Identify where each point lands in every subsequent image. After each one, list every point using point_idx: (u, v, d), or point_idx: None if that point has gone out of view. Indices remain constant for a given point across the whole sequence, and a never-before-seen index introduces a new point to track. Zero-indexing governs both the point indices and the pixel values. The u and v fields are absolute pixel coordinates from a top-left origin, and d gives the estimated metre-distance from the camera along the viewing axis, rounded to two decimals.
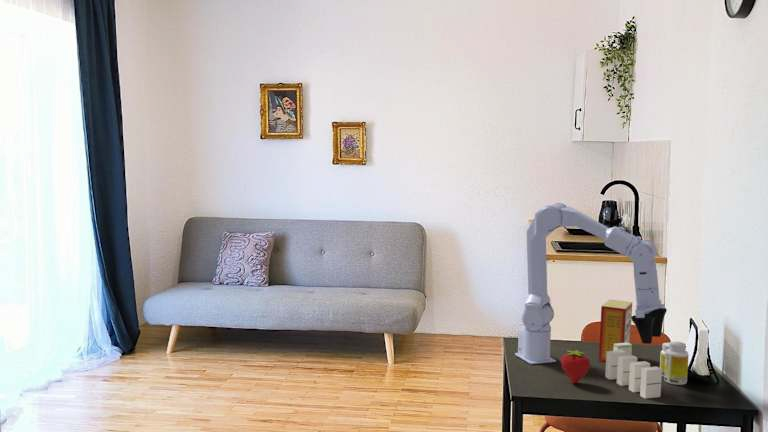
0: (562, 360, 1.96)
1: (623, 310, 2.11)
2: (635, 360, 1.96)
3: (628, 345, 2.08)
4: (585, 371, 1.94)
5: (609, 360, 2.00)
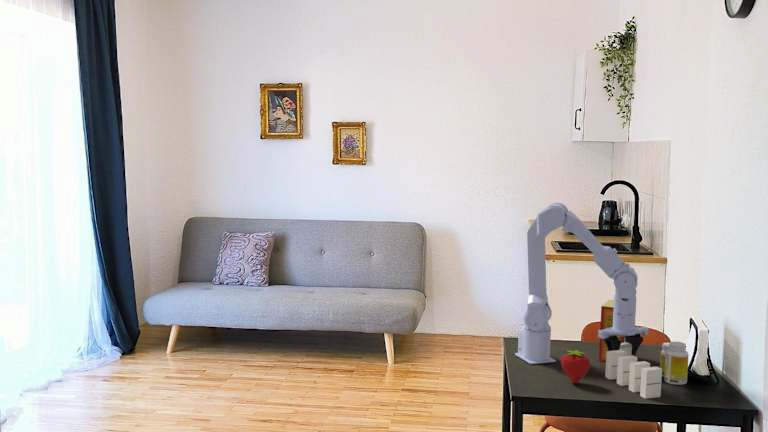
0: (562, 360, 1.96)
1: None
2: (635, 360, 1.96)
3: (628, 345, 2.08)
4: (585, 371, 1.94)
5: (609, 360, 2.00)
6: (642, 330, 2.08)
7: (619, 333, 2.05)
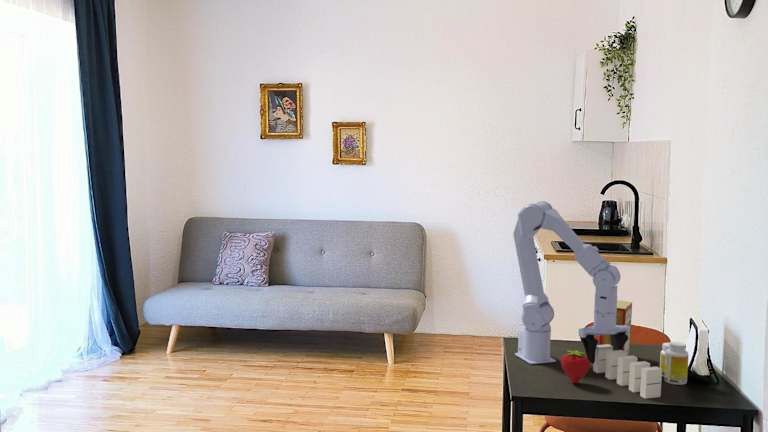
0: (562, 360, 1.96)
1: (623, 310, 2.11)
2: (635, 360, 1.96)
3: (609, 347, 2.06)
4: (585, 371, 1.94)
5: (609, 360, 2.00)
6: (623, 329, 2.06)
7: (600, 332, 2.03)
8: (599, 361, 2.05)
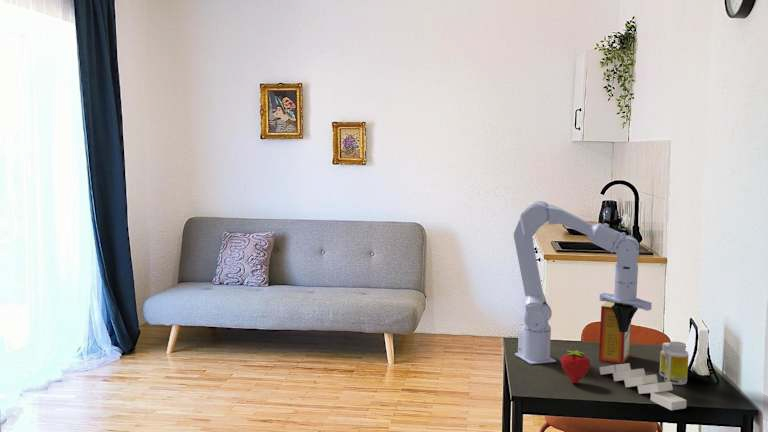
0: (562, 360, 1.96)
1: None
2: None
3: None
4: (585, 371, 1.94)
5: (625, 377, 1.95)
6: (638, 303, 2.02)
7: (611, 298, 2.07)
8: (609, 373, 2.01)
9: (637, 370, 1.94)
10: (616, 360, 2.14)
